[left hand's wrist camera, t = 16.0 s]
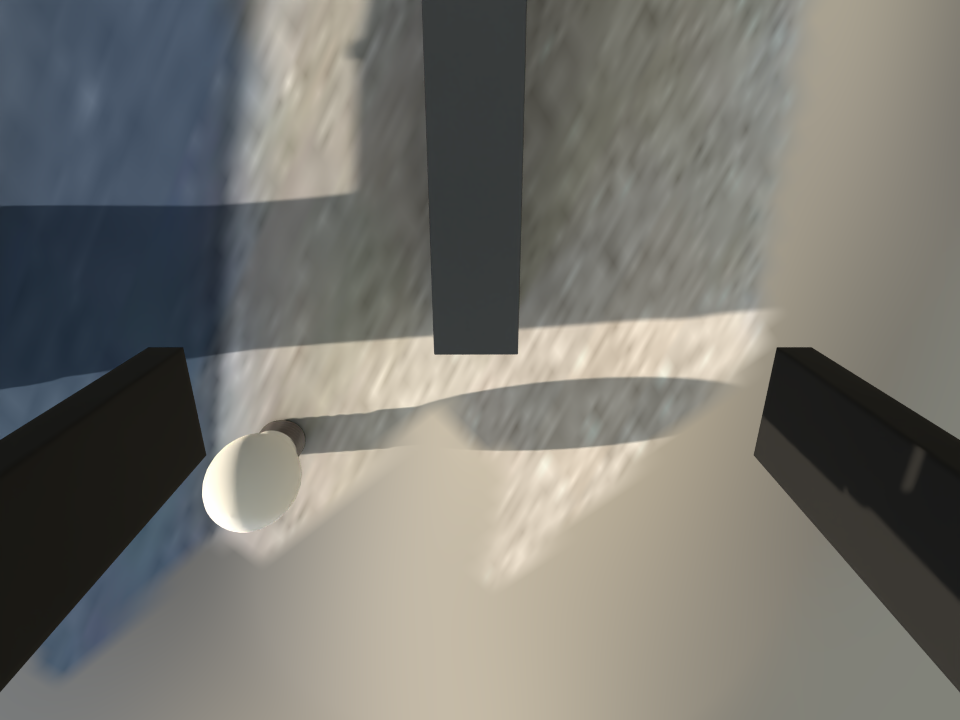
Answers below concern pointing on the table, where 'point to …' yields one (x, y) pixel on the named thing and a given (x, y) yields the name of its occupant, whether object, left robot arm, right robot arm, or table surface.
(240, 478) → the light bulb
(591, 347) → the table surface
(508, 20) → the post
